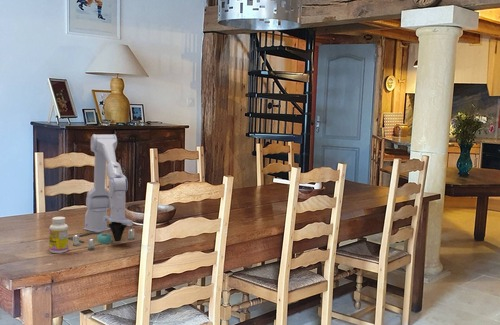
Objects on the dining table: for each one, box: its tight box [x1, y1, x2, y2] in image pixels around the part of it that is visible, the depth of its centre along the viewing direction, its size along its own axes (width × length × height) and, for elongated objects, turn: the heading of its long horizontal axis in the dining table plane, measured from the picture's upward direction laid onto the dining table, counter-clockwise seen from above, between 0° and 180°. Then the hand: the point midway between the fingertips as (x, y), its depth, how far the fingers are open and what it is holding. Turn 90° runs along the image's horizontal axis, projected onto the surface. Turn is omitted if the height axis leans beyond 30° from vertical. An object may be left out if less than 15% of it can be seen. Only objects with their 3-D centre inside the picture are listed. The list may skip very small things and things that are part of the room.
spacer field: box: [72, 228, 135, 251], centre depth 217 cm, size 11×23×4 cm, turn 147°
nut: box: [96, 232, 113, 245], centre depth 217 cm, size 6×6×3 cm
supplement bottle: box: [48, 216, 69, 254], centre depth 201 cm, size 7×7×13 cm
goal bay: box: [68, 231, 103, 244], centre depth 222 cm, size 9×14×1 cm
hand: (117, 241), depth 213 cm, fingers closed
